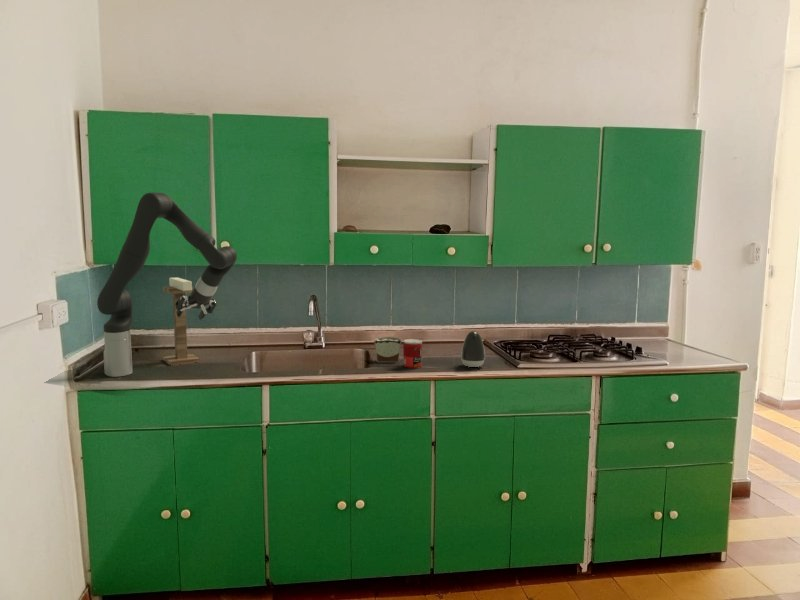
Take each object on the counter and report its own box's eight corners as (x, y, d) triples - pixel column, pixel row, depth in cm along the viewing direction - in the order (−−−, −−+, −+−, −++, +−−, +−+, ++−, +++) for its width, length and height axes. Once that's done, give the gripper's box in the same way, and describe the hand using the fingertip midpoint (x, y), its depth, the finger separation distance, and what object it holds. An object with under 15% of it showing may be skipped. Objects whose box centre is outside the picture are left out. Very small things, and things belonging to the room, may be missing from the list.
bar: (192, 290, 232) (191, 281, 231) (183, 290, 230) (182, 281, 229) (178, 285, 249) (177, 277, 248) (169, 285, 247) (169, 277, 246)
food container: (401, 358, 254) (401, 336, 253) (401, 362, 248) (402, 339, 247) (373, 358, 254) (373, 336, 252) (373, 362, 248) (373, 339, 246)
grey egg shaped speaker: (461, 369, 236) (462, 333, 234) (459, 363, 246) (460, 328, 244) (486, 369, 236) (487, 333, 234) (483, 363, 246) (484, 329, 244)
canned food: (416, 369, 235) (416, 343, 234) (399, 366, 239) (399, 341, 238) (425, 365, 242) (425, 340, 240) (408, 363, 246) (409, 338, 244)
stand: (199, 362, 244) (197, 287, 240) (170, 365, 237) (167, 289, 233) (191, 356, 254) (189, 285, 250) (163, 360, 247) (160, 286, 243)
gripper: (221, 284, 223) (204, 312, 231) (185, 278, 214) (169, 307, 221) (225, 298, 219) (208, 326, 227) (188, 292, 209) (172, 321, 217)
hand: (189, 316), depth 224 cm, fingers open, 8 cm apart
